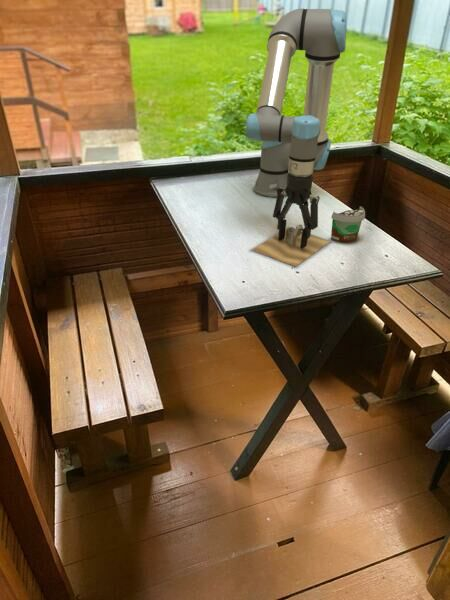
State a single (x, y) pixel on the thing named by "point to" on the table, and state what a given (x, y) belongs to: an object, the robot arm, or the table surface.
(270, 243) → the wooden board
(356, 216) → the food container
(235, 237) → the table surface
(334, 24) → the robot arm
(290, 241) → the lighter
